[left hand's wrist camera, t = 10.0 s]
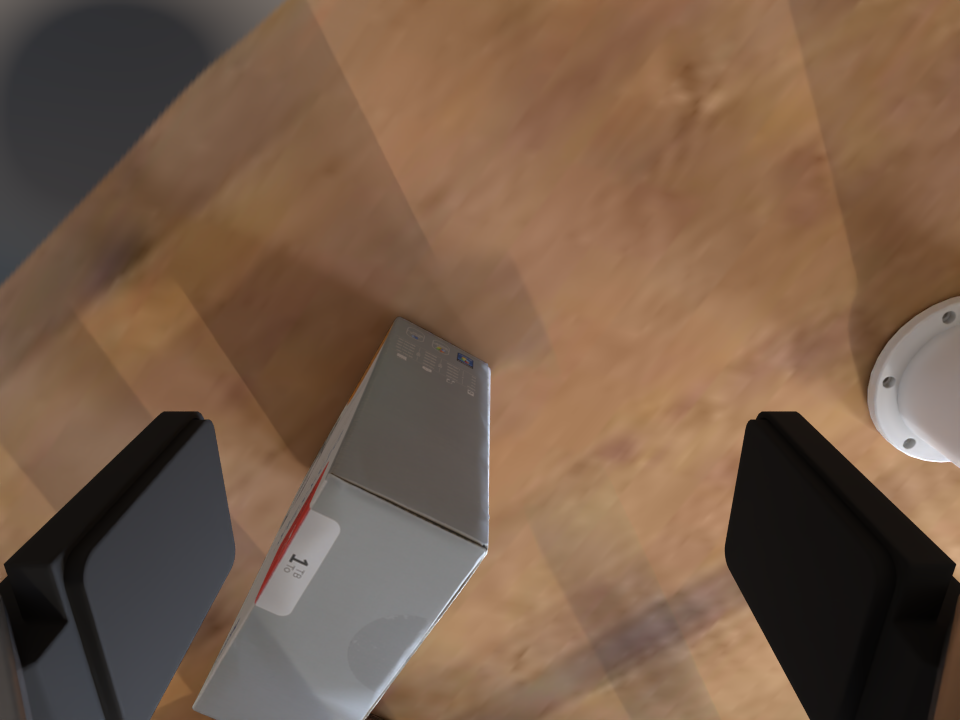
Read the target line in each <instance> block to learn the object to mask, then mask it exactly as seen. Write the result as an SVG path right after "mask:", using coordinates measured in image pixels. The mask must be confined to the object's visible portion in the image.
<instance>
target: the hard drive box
mask: <svg viewBox="0 0 960 720" xmlns="http://www.w3.org/2000/svg"><path fill="white" fill-rule="evenodd" d="M489 432H490V368H489V367H488V364H487V363H485V362H483V361H481V360H480V359H478V358H476V357H474V356H472V355H471V354H469V353H467V352H465V351H463V350H462V349H460V348H458V347H456V346H454V345H452V344H451V343H449V342H447V341H445V340H443V339H441V338H439V337H437V336H436V335H434V334H432V333H430V332H428V331H426V330H425V329H423V328H421V327H419V326H417V325H415V324H413V323H411V322H409V321H408V320H406V319H404V318H402V317H397V318H396V319H395V321H394V322H393V324H392V326H391V327H390V329H389V331H388V333H387V334H386V336H385V338H384V340H383V341H382V343H381V345H380V347H379V348H378V350H377V352H376V354H375V355H374V357H373V359H372V361H371V362H370V364H369V366H368V368H367V369H366V371H365V373H364V375H363V376H362V378H361V380H360V382H359V383H358V385H357V387H356V388H355V390H354V392H353V394H352V395H351V397H350V399H349V401H348V402H347V404H346V406H345V408H344V409H343V411H342V413H341V415H340V416H339V418H338V420H337V422H336V423H335V425H334V427H333V429H332V430H331V432H330V434H329V436H328V437H327V439H326V441H325V442H324V444H323V446H322V448H321V449H320V451H319V453H318V455H317V457H316V458H315V460H314V462H313V464H312V466H311V467H310V469H309V471H308V473H307V474H306V476H305V478H304V480H303V482H302V484H301V486H300V488H299V490H298V492H297V494H296V496H295V498H294V500H293V502H292V504H291V506H290V508H289V510H288V512H287V514H286V516H285V518H284V520H283V522H282V525H281V527H280V529H279V531H278V533H277V535H276V537H275V539H274V541H273V543H272V545H271V548H270V550H269V552H268V554H267V556H266V558H265V560H264V562H263V564H262V566H261V568H260V570H259V572H258V574H257V577H256V579H255V581H254V583H253V585H252V587H251V589H250V591H249V593H248V595H247V597H246V599H245V601H244V603H243V605H242V607H241V609H240V612H239V614H238V616H237V618H236V620H235V622H234V624H233V626H232V628H231V630H230V632H229V634H228V636H227V638H226V640H225V642H224V644H223V646H222V648H221V650H220V653H219V655H218V657H217V659H216V661H215V663H214V665H213V667H212V669H211V671H210V673H209V675H208V677H207V679H206V681H205V683H204V685H203V687H202V689H201V691H200V693H199V695H198V697H197V699H196V701H195V703H194V704H193V706H192V709H193V710H195V711H197V712H199V713H201V714H203V715H206V716H209V717H211V718H214V719H216V720H365V719H366V717H367V716H368V715H369V713H370V712H371V711H372V709H373V708H374V707H375V705H376V704H377V703H378V701H379V700H380V698H381V697H382V696H383V694H384V693H385V691H386V690H387V689H388V687H389V686H390V685H391V683H392V682H393V681H394V679H395V678H396V677H397V675H398V674H399V673H400V671H401V670H402V669H403V667H404V666H405V665H406V663H407V662H408V660H409V659H410V658H411V656H412V655H413V654H414V652H415V651H416V650H417V649H418V647H419V646H420V644H421V643H422V642H423V640H424V639H425V638H426V636H427V635H428V634H429V632H430V631H431V630H432V628H433V627H434V626H435V624H436V623H437V622H438V620H439V619H440V618H441V616H442V615H443V614H444V613H445V611H446V610H447V609H448V607H449V606H450V605H451V603H452V602H453V601H454V599H455V598H456V597H457V595H458V594H459V593H460V591H461V590H462V588H463V587H464V586H465V584H466V583H467V581H468V580H469V579H470V577H471V576H472V574H473V573H474V572H475V570H476V569H477V567H478V566H479V564H480V563H481V561H482V560H483V558H484V557H485V556H486V554H487V549H488V533H489Z"/></svg>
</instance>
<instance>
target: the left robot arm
mask: <svg viewBox="0 0 960 720" xmlns="http://www.w3.org/2000/svg"><path fill="white" fill-rule="evenodd" d="M868 408H869V412H870V417H871V419H872V421H873V423H874V425H875V427H876V429H877V430H878V431H879V432H880V434H881V435H882V436H883V437H884V438H885V439H886V440H887V441H888V442H889V443H891V444H892V445H893V446H894V447H896V448H897V449H898V450H900V451H902V452H904V453H905V454H907V455H909V456H911V457H915V458H918V459H921V460H925V461H935V462H950V461H951V462H953V463H954V464H955V465H957V466H958V467H959V468H960V296H957V297H953V298H950V299H947V300H945V301H943V302H940V303H938V304H935V305H933V306H931V307H929V308H928V309H926V310H924V311H923V312H921V313H919V314H918V315H916V316H915V317H914V318H912V319H911V320H910V321H909V322H907V323H906V324H905V325H904V326H903V327H901V328H900V329H899V330H898V332H897V333H896V334H895V335H894V336H893V337H892V338H891V339H890V340H889V341H888V343H887V344H886V346H885V347H884V349H883V350H882V352H881V353H880V355H879V356H878V358H877V361H876V363H875V365H874V368H873V370H872V372H871V376H870V381H869V385H868ZM234 558H235V543H234V537H233V531H232V526H231V520H230V514H229V508H228V503H227V497H226V491H225V486H224V480H223V474H222V469H221V463H220V457H219V452H218V446H217V440H216V435H215V429H214V425H213V423H212V421H210V420H204V418H203V416H202V414H201V413H199V412H162V413H161V414H160V415H159V416H157V417H156V418H155V419H154V420H153V421H152V422H151V423H150V424H149V425H148V426H147V427H146V428H145V429H144V430H143V431H142V432H141V433H140V434H139V435H138V436H137V437H136V438H135V439H134V440H132V441H131V442H130V443H129V444H128V445H127V446H126V447H125V448H124V449H123V450H122V451H121V452H120V453H119V454H118V455H117V456H116V457H115V458H114V459H113V460H112V461H111V462H110V463H109V464H108V465H106V466H105V467H104V468H103V469H102V470H101V471H100V472H99V473H98V474H97V475H96V476H95V477H94V478H93V479H92V480H91V481H90V482H89V483H88V484H87V485H86V486H85V487H84V488H83V489H82V490H80V491H79V492H78V493H77V494H76V495H75V496H74V497H73V498H72V499H71V500H70V501H69V502H68V503H67V504H66V505H65V506H64V507H63V508H62V509H61V510H60V511H59V512H58V513H57V514H55V515H54V516H53V517H52V518H51V519H50V520H49V521H48V522H47V523H46V524H45V525H44V526H43V527H42V528H41V529H40V530H39V531H38V532H37V533H36V534H35V535H34V536H33V537H32V538H31V539H29V540H28V541H27V542H26V543H25V544H24V545H23V546H22V547H21V548H20V549H19V550H18V551H17V552H16V553H15V554H14V555H13V556H12V557H11V558H10V559H9V560H8V561H7V562H6V563H5V564H4V567H5V569H6V572H7V575H8V576H7V577H6V578H5V579H4V580H3V581H2V582H1V583H0V720H150V719H151V717H152V715H153V713H154V711H155V709H156V707H157V706H158V704H159V702H160V700H161V698H162V696H163V694H164V693H165V691H166V689H167V687H168V685H169V683H170V681H171V680H172V678H173V676H174V674H175V672H176V670H177V668H178V667H179V665H180V663H181V661H182V659H183V657H184V655H185V654H186V652H187V650H188V648H189V646H190V644H191V642H192V641H193V639H194V637H195V635H196V633H197V631H198V629H199V628H200V626H201V624H202V622H203V620H204V618H205V616H206V615H207V613H208V611H209V609H210V607H211V605H212V603H213V602H214V600H215V598H216V596H217V594H218V592H219V590H220V589H221V587H222V585H223V583H224V581H225V579H226V577H227V576H228V574H229V572H230V570H231V568H232V566H233V562H234ZM725 558H726V562H727V566H728V568H729V570H730V572H731V574H732V576H733V577H734V579H735V581H736V583H737V585H738V587H739V589H740V590H741V592H742V594H743V596H744V598H745V600H746V602H747V603H748V605H749V607H750V609H751V611H752V613H753V615H754V616H755V618H756V620H757V622H758V624H759V626H760V628H761V629H762V631H763V633H764V635H765V637H766V639H767V641H768V642H769V644H770V646H771V648H772V650H773V652H774V654H775V655H776V657H777V659H778V661H779V663H780V665H781V667H782V668H783V670H784V672H785V674H786V676H787V678H788V680H789V681H790V683H791V685H792V687H793V689H794V691H795V693H796V694H797V696H798V698H799V700H800V702H801V704H802V706H803V707H804V709H805V711H806V713H807V715H808V717H809V719H810V720H960V583H959V582H958V581H957V580H956V579H955V578H954V577H953V576H952V575H953V572H954V569H955V567H956V564H955V563H954V562H953V561H952V560H951V559H950V558H949V557H948V556H947V555H946V554H945V553H944V552H943V551H942V550H941V549H940V548H939V547H938V546H937V545H936V544H935V543H934V542H933V541H932V540H931V539H929V538H928V537H927V536H926V535H925V534H924V533H923V532H922V531H921V530H920V529H919V528H918V527H917V526H916V525H915V524H914V523H913V522H912V521H911V520H910V519H909V518H908V517H907V516H906V515H905V514H903V513H902V512H901V511H900V510H899V509H898V508H897V507H896V506H895V505H894V504H893V503H892V502H891V501H890V500H889V499H888V498H887V497H886V496H885V495H884V494H883V493H882V492H881V491H880V490H878V489H877V488H876V487H875V486H874V485H873V484H872V483H871V482H870V481H869V480H868V479H867V478H866V477H865V476H864V475H863V474H862V473H861V472H860V471H859V470H858V469H857V468H856V467H855V466H854V465H852V464H851V463H850V462H849V461H848V460H847V459H846V458H845V457H844V456H843V455H842V454H841V453H840V452H839V451H838V450H837V449H836V448H835V447H834V446H833V445H832V444H831V443H830V442H829V441H828V440H826V439H825V438H824V437H823V436H822V435H821V434H820V433H819V432H818V431H817V430H816V429H815V428H814V427H813V426H812V425H811V424H810V423H809V422H808V421H807V420H806V419H805V418H804V417H803V416H801V415H800V414H799V413H798V412H761V413H759V414H758V416H757V418H756V420H750V421H748V423H747V425H746V429H745V435H744V440H743V446H742V452H741V457H740V463H739V469H738V474H737V480H736V486H735V491H734V497H733V503H732V508H731V514H730V520H729V525H728V531H727V537H726V543H725Z"/></svg>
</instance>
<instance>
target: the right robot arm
mask: <svg viewBox="0 0 960 720" xmlns="http://www.w3.org/2000/svg"><path fill="white" fill-rule="evenodd" d="M365 720H383V719H381V718H379V717H377V716H375V715H372V714H369V715H368V716H367V717H366V719H365Z"/></svg>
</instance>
